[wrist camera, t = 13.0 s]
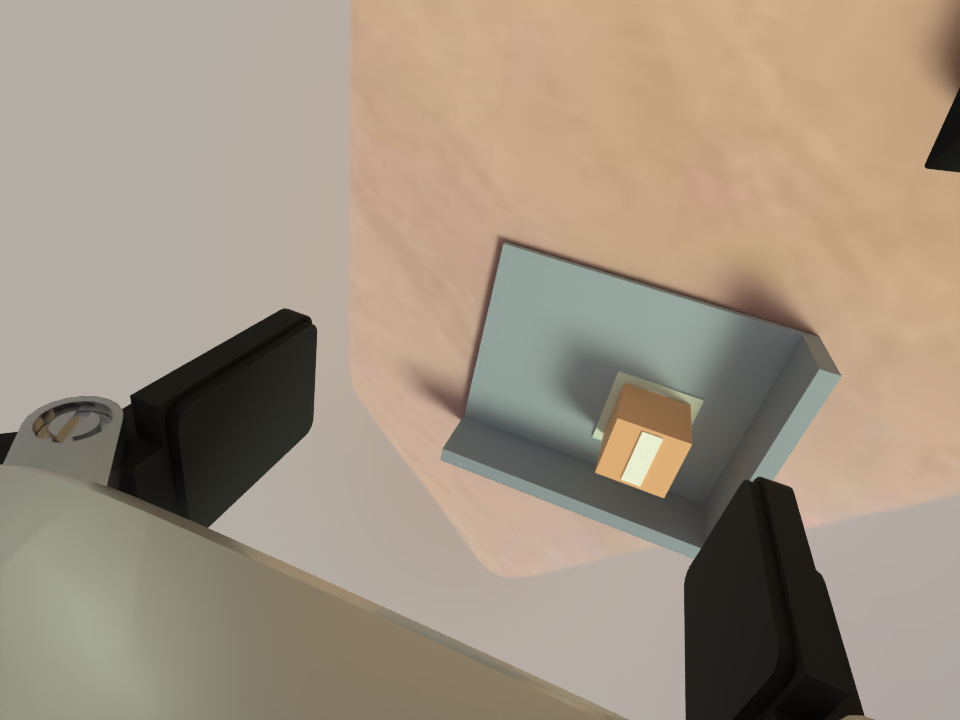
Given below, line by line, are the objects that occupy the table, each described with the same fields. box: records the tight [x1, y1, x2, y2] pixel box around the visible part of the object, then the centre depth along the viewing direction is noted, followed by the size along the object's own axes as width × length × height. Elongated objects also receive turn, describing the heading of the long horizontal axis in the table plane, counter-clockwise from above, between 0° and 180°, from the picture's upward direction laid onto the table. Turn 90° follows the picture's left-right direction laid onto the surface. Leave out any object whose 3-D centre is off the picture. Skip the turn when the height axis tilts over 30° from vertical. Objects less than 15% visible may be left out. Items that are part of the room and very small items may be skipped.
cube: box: [595, 383, 692, 498], centre depth 38 cm, size 5×5×5 cm
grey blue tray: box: [440, 242, 841, 559], centre depth 39 cm, size 22×17×6 cm
